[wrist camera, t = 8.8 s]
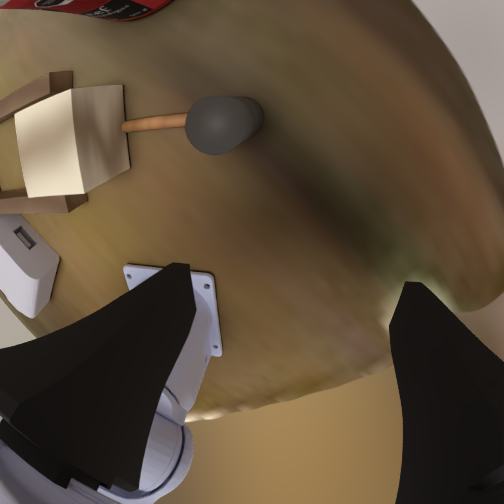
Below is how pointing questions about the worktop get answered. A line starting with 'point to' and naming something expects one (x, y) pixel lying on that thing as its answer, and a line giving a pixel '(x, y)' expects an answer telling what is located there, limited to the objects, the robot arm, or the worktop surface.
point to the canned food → (91, 7)
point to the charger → (25, 265)
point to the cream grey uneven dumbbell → (113, 135)
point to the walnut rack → (9, 107)
